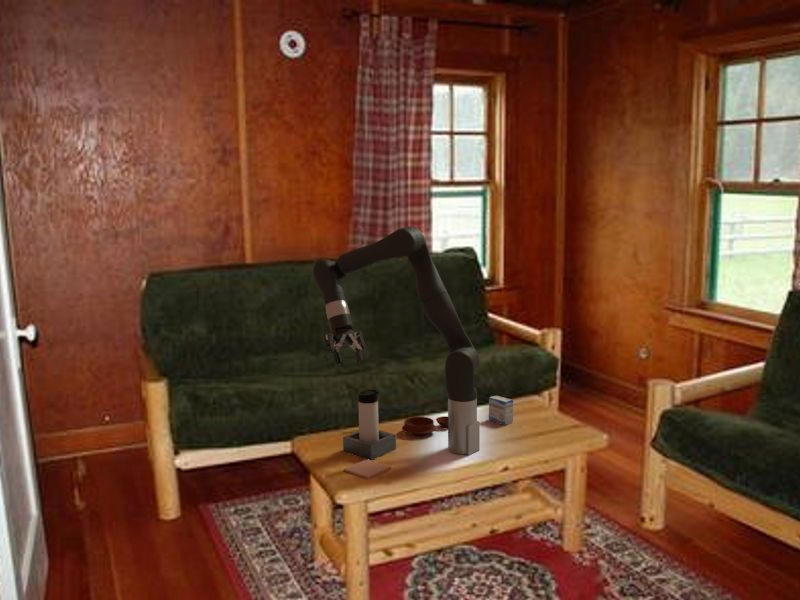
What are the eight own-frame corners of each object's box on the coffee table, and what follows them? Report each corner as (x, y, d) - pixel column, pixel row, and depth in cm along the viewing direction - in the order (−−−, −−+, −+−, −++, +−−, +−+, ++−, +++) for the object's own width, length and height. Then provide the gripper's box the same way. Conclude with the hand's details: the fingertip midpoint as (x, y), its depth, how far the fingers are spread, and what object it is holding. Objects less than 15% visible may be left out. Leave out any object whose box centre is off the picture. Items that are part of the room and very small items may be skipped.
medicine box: (488, 420, 259) (488, 397, 258) (496, 417, 262) (496, 394, 261) (505, 425, 254) (505, 402, 252) (513, 422, 257) (513, 399, 255)
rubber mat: (390, 468, 217) (390, 466, 217) (368, 479, 209) (368, 477, 209) (366, 460, 223) (366, 458, 223) (343, 470, 216) (343, 468, 216)
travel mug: (377, 454, 228) (376, 393, 225) (357, 453, 229) (355, 392, 226) (381, 447, 234) (380, 388, 231) (362, 446, 235) (360, 387, 232)
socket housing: (396, 449, 232) (395, 434, 232) (371, 460, 223) (370, 445, 223) (368, 441, 240) (368, 427, 239) (343, 451, 231) (342, 437, 230)
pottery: (395, 432, 249) (395, 419, 249) (443, 421, 260) (442, 409, 259) (414, 442, 239) (413, 429, 239) (462, 430, 250) (462, 418, 249)
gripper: (327, 313, 231) (339, 361, 228) (362, 311, 241) (373, 358, 237) (315, 321, 237) (326, 368, 233) (349, 319, 246) (360, 364, 242)
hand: (350, 363), depth 235 cm, fingers open, 8 cm apart
